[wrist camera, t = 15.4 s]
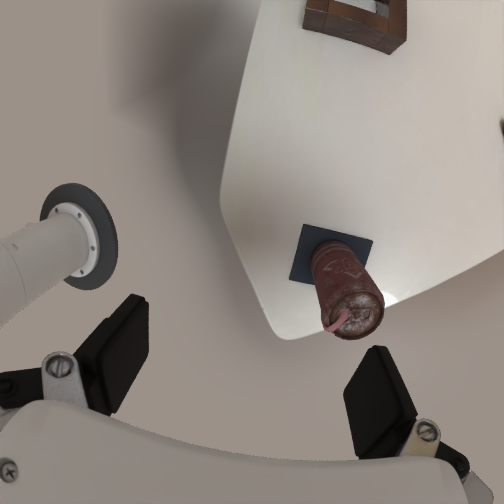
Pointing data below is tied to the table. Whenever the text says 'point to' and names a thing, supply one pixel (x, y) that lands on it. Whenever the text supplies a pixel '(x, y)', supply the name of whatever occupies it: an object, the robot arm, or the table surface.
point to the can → (345, 292)
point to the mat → (314, 238)
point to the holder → (360, 22)
